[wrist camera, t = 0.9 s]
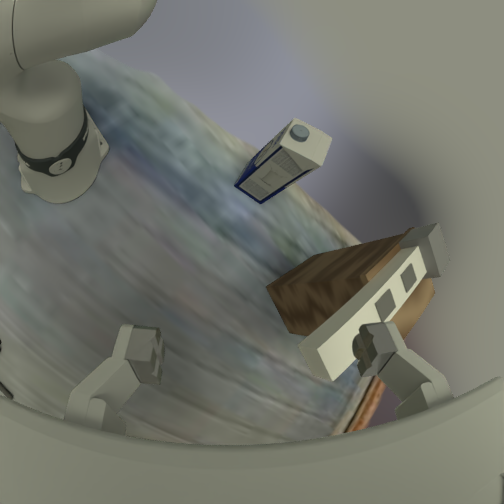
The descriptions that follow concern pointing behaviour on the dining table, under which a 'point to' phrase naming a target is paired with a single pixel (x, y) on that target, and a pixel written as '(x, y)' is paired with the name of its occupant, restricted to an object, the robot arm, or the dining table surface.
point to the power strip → (375, 301)
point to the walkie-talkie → (5, 389)
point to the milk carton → (284, 161)
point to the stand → (341, 286)
